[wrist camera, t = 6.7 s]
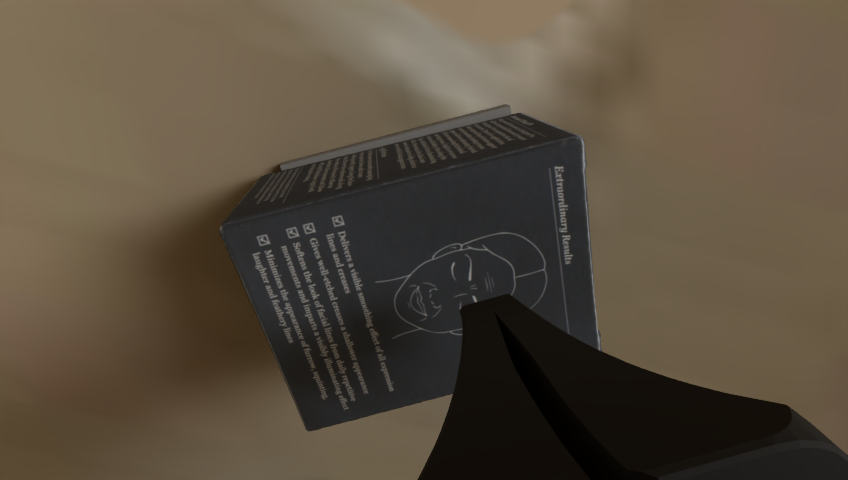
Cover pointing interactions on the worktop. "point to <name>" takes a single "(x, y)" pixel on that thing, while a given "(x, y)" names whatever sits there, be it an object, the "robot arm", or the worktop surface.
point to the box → (411, 258)
